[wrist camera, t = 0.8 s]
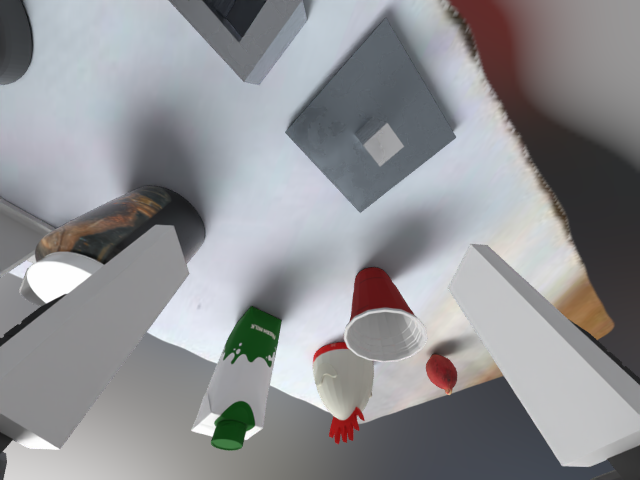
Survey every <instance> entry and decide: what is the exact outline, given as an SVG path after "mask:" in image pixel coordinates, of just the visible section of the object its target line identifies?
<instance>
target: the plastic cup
mask: <svg viewBox="0 0 640 480" xmlns="http://www.w3.org/2000/svg"><path fill="white" fill-rule="evenodd" d="M427 339H428V338H427V331H426V327H425V326H424V325H423V323H422V322H421V321H420V320H419V319H418V318H417V317H416V316H415V315H414V314H413V312H412V310H411V309H410V308H409V307H408V305H407V303H406V302H405V300H404V299H403V297H402V295H401V294H400V292H399V291H398V289H397V287H396V286H395V285H394V284H393V282H392V280H391V279H390V277H389V276H388V275H387V274H386V272H385V271H384V270H382V269H380V268H376V267H370V268H366V269H363V270H362V271H360V272H359V273H358V274H357V276H356V278H355V283H354V293H353V301H352V311H351V318H350V322H349V323H348V324H347V325H346V328H345V333H344V340H345V343H346V345H347V347H348V348H349V349H350V350H351V351H352V352H353V353H355V354H356V355H357V356H360V357H362V358H365V359H367V360H371V361H378V362H392V361H400V360H403V359H406V358H409V357H412V356H413V355H415V354H416V353H417V352H419V351H420V350H421V349H423V347H424V345H425V343H426V341H427Z"/></svg>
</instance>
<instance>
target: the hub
mask: <svg viewBox="0 0 640 480" xmlns="http://www.w3.org/2000/svg"><path fill="white" fill-rule="evenodd" d="M169 1H170V2H171V3H172V4H173V6H174V7H175V8H176V9H177V10H178V11H179V12H180V13H181V14H182V15H183V16H184V17H185V19H186V20H187V21H188V22H189V23H190V24H191V25H192V26H193V27H194V28H195V29H196V30H197V32H198V33H199V34H200V35H201V36H202V37H203V38H204V39H205V40H206V41H207V42H208V43H209V45H210V46H211V47H212V48H213V49H214V50H215V51H216V52H217V53H218V54H219V55H220V56H221V58H222V59H223V60H224V61H225V62H226V63H227V64H228V65H229V66H230V67H231V68H232V69H233V71H234V72H235V73H236V74H237V75H238V76H239V77H240V78H241V79H242V80H243V81H244V82H247V83H252V84H258V85H259V84H260V83H261V82H262V80H263V79H264V78H265V76H266V75H267V74H268V72H269V71H270V70H271V68H272V67H273V66H274V64H275V63H276V62H277V60H278V59H279V58H280V56H281V55H282V53H283V52H284V51H285V49H286V48H287V47H288V45H289V44H290V43H291V41H292V40H293V39H294V37H295V36H296V35H297V33H298V32H299V31H300V29H301V28H302V27H303V25H304V24H305V23H306V21H307V16H306V12H305V8H304V4H303V0H266V2H265V4H264V5H263V7H262V9H261V10H260V12H259V13H258V15H257V16H256V18H255V19H254V21H253V22H252V24H251V25H250V27H249V29H248V30H247V32H246V33H245V35H244V36H243V38H242V37H241V35H240V34H239V33H238V32H237V31H236V30H235V28H234V27H233V26H232V25H231V24H230V23H229V21H228V20H227V19H226V16H227V14H228V13H229V11H230V9H231V8H232V6H233V4H234V3H235V1H236V0H169Z"/></svg>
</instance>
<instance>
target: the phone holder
mask: <svg viewBox="0 0 640 480" xmlns="http://www.w3.org/2000/svg"><path fill="white" fill-rule="evenodd" d="M55 229H56V228H54V227H52V226H51V225H49V224H47V223H45V222H43V221H42V220H40V219H38V218H36V217H34V216H33V215H31V214H29V213H27V212H25V211H23V210H22V209H20V208H18V207H16V206H14V205H13V204H11V203H9V202H7V201H5V200H4V199H2V198H0V278H1V277H2V276H4V275H5V274H6V273H8V272H10V271H11V270H12V269H14V268H15V267H17V266H18V265H20V264H21V263H23V262H24V261H26V260H27V261H29V262H31V263H33V264H34V263H36V258H35V249H36V246H37V244H38V243H39V241H40V240H41V239H42V238H43V237H44V236H46V235H47V234H49V233H50V232H51V231H53V230H55ZM28 269H29V268H28ZM28 269H27V270H28ZM19 291H20V294H21V296H22V297H23V298H25V299H26V300H27V301H29V302H31V303H33V304H36V305H39V306H43V305H45V304H46V303H45V302H44V301H43V300H42V299H40V298H39V297H38V296H37V295H36V293H35V292H34V291H33V290H32V288H31V287H30V285H29V283H28V281H27V271H26V273H25V276H24V279H23V282H22V284H21V287H20V290H19Z"/></svg>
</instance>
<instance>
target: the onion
mask: <svg viewBox="0 0 640 480" xmlns="http://www.w3.org/2000/svg"><path fill="white" fill-rule="evenodd" d="M426 371H427V375H428V377H429V379H430V380H431V382H433V383H434V384H435V385H436V386H438V387H439V388H441V389H444V390H445V392H446V393H447V394H449V395H450V394H452V388H453V387H454V386H455V384H456V382H457V371H456V368H455V367H454V365H453V364H452V362H451V361H450V360H449V359H448V358H446V357H443V356H441V355H437V354H433V355H432V356H431V357H430V359H429V360H428V362H427V364H426Z"/></svg>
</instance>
